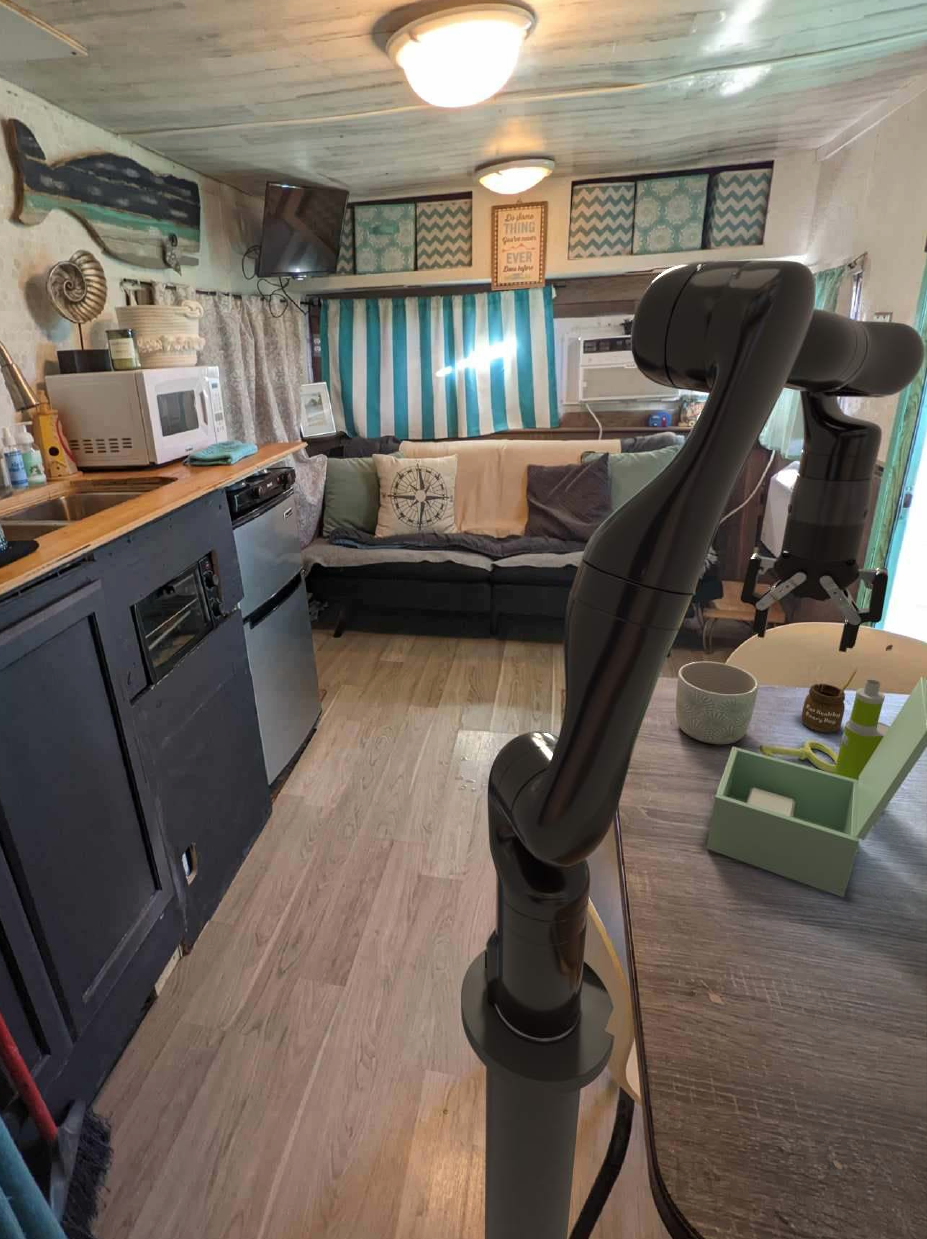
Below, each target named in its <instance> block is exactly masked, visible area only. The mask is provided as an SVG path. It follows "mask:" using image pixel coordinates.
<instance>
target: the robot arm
mask: <svg viewBox="0 0 927 1239" xmlns="http://www.w3.org/2000/svg"><path fill="white" fill-rule="evenodd" d="M816 286H817V285H816V281H815V276H814V273H813V272H812V270H811V269H810V268H809V267H808V266H807V265H805V264H804V263H802V262H799V261H794V260H793V261H792V260H759V259H752V260H751V259H750V260H749V259H748V260H747V259H744V260H743V259H741V260H740V259H739V260H698V261H691V262H686V263H681V264H678V265H675V266H673V267H671V268H669V269H667V270H665V271H663V272H662V273H661V274H659V275H658V276H657V277H655V278H654V280H652V282H651V283H650V284H649V285H648V287H647V288H646V289H645V290H644V293H643V294H642V296H641V298H640V300H639V302H638V304H637V307H636V309H635V311H634V312H635V313H634V316H633V319H632V325H631V330H630V350H631V355H632V358H633V362H634V363H635V364H634V365H636V367H637V369H638V371H640V373H641V374H642V375H643V376H644V377H645V378H646V379H648V380H650V381H652V382H653V383H655V384H656V385H660V386H662V387H663V386H664V387H667V388H671V389H676V390H683V391H684V390H685V391H692V392H698V393H705V394H708V395H707V398H706V400H705V402H704V404H703V407H702V409H701V411H700V413H699V415H698V417H697V419H696V420H695V423H694V424H693V426H692V428H691V430H690V431H689V434H688V435H687V437H686V439H685V440H684V442H683V444H682V445H681V446H680V448H679V449H678V450H677V452H676V453H675V455H674V456H673V457H672V458H671V460H670V461H669V462H667V464H665V466H664V467H663V468H662V469H661V470H660V471H659V472H657V474H656V475H655V476H653V477H652V478H651V479H650V480H649V481H648V482H647V483H646V484H644V485H643V486H642V487H641V488H640V489H638V490H637V491H636V492H635V493H634V494H632V495H631V496H630V497H629V498H628V499H626V500H625V501H624V502H623V503H622V504H621V505H620V506H618V507H617V508H616V509H615V510H614V511H613V512H612V513H611V514H610V515H609V516H608V517H607V518H606V519H604V521H603V522H602V523H601V524H600V525H599V526H598V528H596V530H595V531H594V532H593V534H592V535H591V536H590V538H589V540H588V541H587V544H586V545H585V548H584V551H583V554H582V556H581V559H580V563H579V565H578V568H577V570H576V574H575V576H574V579H573V582H572V585H571V588H570V591H569V594H568V597H567V601H566V605H565V609H564V615H563V616H564V619H563V636H562V637H563V638H562V640H563V642H562V644H563V646H562V647H563V666H564V667H563V670H564V690H565V692H564V699H565V700H564V710H563V718H562V722H561V727H560V729H559V734H558V736H557V735H555V734H553V733H549V732H546V731H539V730H538V731H537V730H536V731H527V732H525V733H522V734H519V735H517V736H515V737H513V738H511V740H509V741H507V743H506V744H505V745H504V746H502V748H501V749H500V750H499V752H498V753H497V755H496V756H495V758H494V761H492V763H491V764H492V765H491V767H490V770H489V774H488V781H487V819H488V820H487V823H488V824H487V825H488V841H489V842H488V844H489V849H490V850H489V851H490V855H491V859H492V862H493V866H494V870H495V927H494V929H493V931H492V933H491V934H490V935H489V937H488V939H487V941H486V943H485V945H486V948H485V949H486V950H485V949H484V950H485V968H486V969H487V1003H488V1004H490V1005H491V1006H493V1007H494V1008H495V1009H496V1012H497V1014H498V1016H499V1018H500V1020H501V1021H502V1023H503V1024H504V1025H505V1026H506V1027H507V1029H509V1030H510V1031H511V1032H512V1033H513V1034H515V1035H516V1036H518V1037H519V1038H521V1039H523V1040H525V1041H528V1042H531V1043H535V1044H544V1045H545V1044H554V1043H558V1042H560V1041H562V1040H564V1039H566V1038H567V1037H569V1036H570V1035H571V1034H572V1033H573V1031H574V1030H575V1029H576V1027H577V1025H578V1022H579V1018H580V1009H581V1005H580V1003H581V992H582V983H583V982H582V974H583V962H584V961H585V951H586V950H585V949H586V939H587V938H586V937H587V928H588V913H589V903H590V902H589V900H590V888H591V872H590V866H589V863H588V860H587V858H589V856H590V855H591V854H593V853H594V852H595V851H596V850H597V848H598V847H599V846H600V845H601V843H602V842H603V841H604V840H605V837H606V836H607V834H608V833H609V830H610V829H611V826H612V824H613V822H614V819H615V817H616V814H617V812H618V811H617V810H618V808H619V804H620V800H621V798H622V793H623V790H624V787H625V783H626V779H627V776H628V772H629V768H630V765H631V761H632V756H633V753H634V750H635V746H636V742H637V739H638V736H639V733H640V730H641V727H642V724H643V722H644V718H645V715H646V714H647V710H648V707H649V705H650V702H651V699H652V697H653V694H654V691H655V689H656V686H657V683H658V680H659V678H660V675H661V672H662V669H663V667H664V665H665V662H666V660H667V657H668V655H669V653H670V650H671V648H672V646H673V644H674V641H675V640H676V638H677V636H678V633H679V631H680V628H681V627H682V623H683V621H684V618H685V616H686V613H687V612H688V609H689V606H690V604H691V601H692V599H693V596H694V593H695V591H696V588H697V585H698V583H699V580H700V578H701V574H702V571H703V569H704V566H705V563H706V560H707V558H708V555H709V553H710V550H711V547H712V545H713V543H714V542H713V541H714V539H715V537H716V534H717V531H718V529H719V527H720V524H721V521H722V519H723V516H724V514H725V512H726V509H727V507H728V505H729V502H730V499H731V498H732V495H733V493H734V490H735V487H736V485H737V484H738V481H739V479H740V477H741V475H742V473H743V471H744V468H745V467H746V464H747V463H748V461H749V459H750V457H751V454H752V452H753V451H754V448H755V446H756V444H757V443H758V440H759V439H760V437H761V434H762V432H763V430H764V428H765V426H766V424H767V422H768V421H769V418H770V416H771V414H772V412H773V410H774V408H775V406H776V404H777V402H778V401H779V398H780V396H781V395H782V392H783V390H784V389H789V390H793V391H799V397H800V403H801V410H802V424H803V442H802V448H801V454H800V459H799V465H798V466H799V467H798V469H797V470H798V471H797V475H796V479H795V482H794V485H793V487H792V490H791V495H790V498H789V499H790V500H789V503H788V506H787V516H786V522H785V528H784V534H783V539H782V544H781V550H780V554H779V555H778V557H776V558H774V557H767V556H763V554H761V553H759V552H756V553H753V554H752V555H751V557H750V559H749V561H748V564H747V568H746V572H745V576H744V577H745V578H744V581H743V586H742V590H741V593H740V602H742V603H744V604H749V605H751V606H753V608H754V609H755V612H754V617H753V624H752V630H753V633H757V638H760V639H761V638H762V639H764V638H765V635H766V634H767V633H766V632H767V628H768V621H769V616H770V612H771V611H770V610H771V606H772V605H773V604H774V603H775V602H777V601H780V600H781V599H782V598H783V597H785V596H786V595H788V594H790V595H792V596H793V597H794V598H798V599H807V598H810V599H813V600H815V601H820V602H825V601H828V600H831V601H832V602H833V603H834V604H835V606H836V607H837V609H838V610H839V611H841V613H842V614H843V616H844V618H845V620H844V624H843V628H842V633H841V637H840V641H839V646H838V652H840V653H847V649H850V650H852V649H854V647H855V646H856V642H857V639H858V634H859V629H860V627H861V625H862V624H864V623H873V624H877V623H879V622H881V621H882V619H883V612H884V605H885V600H886V594H887V589H888V588H887V587H888V581H889V570H888V569H887V568H886V567H884V566H879V567H876V569H870V568H860V567H859V565H858V558H859V553H860V549H861V544H862V541H863V537H864V536H863V535H864V532H865V527H866V523H867V520H868V517H869V515H870V505H871V501H872V491H873V480H874V475H875V470H876V466H877V462H878V457H879V453H880V448H881V444H882V438H883V431H882V428H881V426H880V425H879V424H877V423H875V422H872V421H870V420H866V419H861V418H857V417H853V416H850V415H848V414H846V413H845V412H844V411H843V410H842V408H841V407H840V405H839V400H838V398H886V397H891V396H894V395H896V394H898V393H900V392H902V391H903V390H905V389H906V388H907V387H908V386H909V385H911V383H913V382H914V380H915V379H916V378H917V376H918V375H919V373H920V371H921V369H922V367H923V363H924V359H925V345H924V342H923V338H922V336H921V335H920V333H919V332H918V331H917V330H916V329H915V328H914V327H913V326H911V325H909V324H906V323H902V322H895V321H871V320H870V321H869V320H868V321H867V320H855V319H853V318H851V317H848V316H845V315H842V314H839V313H837V312H833V311H830V310H825V309H819V308H815V305H816V295H817V294H816V293H817V288H816ZM769 569H773V571H774V573H775V574H776V576H777V577H778V579H779V580H778V581H776V582H775V583H773V585H772V586H771V587H770V588H768V590H766V591H764V593H762V594H760V593H758V592H756V589H757V588H756V587H757V584H758V579H759V575H760V576H761V575H765V574H766V573H767V571H768V570H769ZM858 579H860V580H862V581H863V583H864V587H865V588H866V589H868V590H871V594H870V600H869V604H868V607H866V608H859V606H858V605H857V603H856V602H855V601H854V599H853V596H852V595H851V593H850V591H849V590H848V588H849V587H850V586H852V585H853V584H854V583H855V582H857V580H858Z"/></svg>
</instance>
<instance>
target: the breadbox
mask: <svg viewBox="0 0 927 1239" xmlns="http://www.w3.org/2000/svg"><path fill="white" fill-rule="evenodd" d="M858 783H859V780H855V779H852V778H848V777H844V776H841V775H837V774H834V772H828V771H825V770H822V769H817V768H814V767H810V766H806V765H804V764H799V763H795V762H792V761H789V760H788V761H787V760H785V759H781V758H778V757H770V756H766V755H764V754H761V753H760V752H759V753H758V752H754V751H750V750H748V749H743V748H739V747H736V746H732V747H731V750H730V753H729V755H728V759H727V762H726V764H725V768H724V770H723V774H722V776H721V780H720V782H719V784H718V788H717V791H716V793H715V797H714V802H713V808H712V814H711V820H710V827H709V833H708V839H707V845H706V850H709V851H711V852H714V853H717V854H719V855H723V856H726V857H729V858H730V859H735V860H737V861H740V862H742V863H745V864H747V865H751V866H754V867H756V868H758V869H759V868H760V869H763V870H765V871H768V872H771V873H773V874H777V875H779V876H781V877H785V878H788V879H790V880H792V881H796V882H799V883H801V884H804V885H807V886H810V887H813V888H816V889H818V890H822V891H823V892H827V893H829V894H833V895H835V896H838V897H841V898H844V897H845V894H846V891H847V887H848V883H849V881H850V880H849V879H850V876H851V872H852V869H853V866H854V862H855V858H856V854H857V850H858V847H859V843H860V838H858V837H856V830H857V806H858ZM753 787H754V788H757V789H761V790H764V791H767V792H771V793H774V794H778V795H781V796H784V797H788V798H791V799H793V801H795V807H794V813H793V817H790V816H787V815H783V814H780V813H777V812H774V811H771V810H767V809H764V808H761V807H758V806H754V805H751V804H748V803H747V800H748V797H749V793H750V789H751V788H752V789H753Z"/></svg>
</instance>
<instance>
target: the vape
mask: <svg viewBox="0 0 927 1239" xmlns="http://www.w3.org/2000/svg"><path fill="white" fill-rule="evenodd" d="M880 688H881V682H880V681H879V680H875V679H867V680H866V681H865V684H864V687H859V688H857V689H856V690H855V691H856V692H855V697H854V701H853V706H852V709H851V713H850V716H849V719H848V720H847V721H845V725H844V730H843V732H842V736H841V742H840V746H839V749H838V753H837V755H838V758H837V762H836V763H835V765H836V766H835V770H834V772H833V774H837V775H841V776H844V777H848V778H852V779H855V780H859V775H860V774H861V772H862V771H863V769H864V767H865V766H866V764H867V763H868V761H869V759H870V758H871V756H872V755H873V753H874V751H875V750H876V748H877V747H878V745H879V743H880V742H881V740H882V739H883V737H884V735H885V734H886V732H887V731H888V729H889V728H890V726H891V725H889V724H887V723H884V722H880V721H879V720H880V716H881V712H882V708H883V705H884V702H885V698H886V695H885V694H884V693H883V692H882V691H880Z"/></svg>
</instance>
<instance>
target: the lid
mask: <svg viewBox="0 0 927 1239" xmlns="http://www.w3.org/2000/svg"><path fill="white" fill-rule="evenodd" d="M889 726H890V728H889V729H888V731H887V732H886V734H885V735H884V737H883V739H882V740H881V742H880V743H879V745H878V747H877V748H876V750H875V751H874V753H873V755H872V756H871V758H870V759H869V761H868V763H867V764H866V766H865V767H864V769H863V771H862V772H861V774H860V775H859V783H858V806H857V830H856V837H858V838H859V840H861V841H864V840H865V839H866V837H867V836H868V835H869V833H870V832H871V831H872V829H873V827H874V826H875V824H876V823H877V822H878V820H879V818H880V817H881V815H882V814H883V812H884V811H885V810H886V809H887V807H888V805H889V803H890V802H891V801H892V799H893V798H894V796H895V795H896V793H897V792H898V791H899V789H900V787H901V786H902V785H903V783H904V781H905V780H906V779H907V777H908V776H909V774H910V773H911V771H912V769H913V768H914V767H915V765H916V763H917V762H918V760H919V759H920V758H921V756H922V755H923V753H924V752H925V751H926V749H927V678H924V677H920V678H919V680H918V681H917V683H916V685H915V686H914V688H913V689H912V691H911V692H910V694H909V696H908V697H907V699H906V700H905V702H904V703H903V705H902V706H901V709H900V710H899V711H898V713H897V714H896V717H895V718H894V719H893V721H892V722H891V724H890V725H889Z"/></svg>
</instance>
